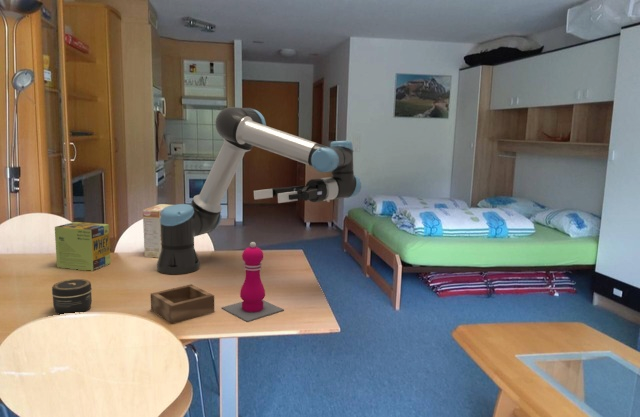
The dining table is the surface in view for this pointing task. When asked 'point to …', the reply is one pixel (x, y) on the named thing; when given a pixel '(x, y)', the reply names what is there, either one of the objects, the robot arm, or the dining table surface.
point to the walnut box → (182, 303)
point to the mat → (250, 316)
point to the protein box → (82, 245)
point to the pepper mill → (252, 280)
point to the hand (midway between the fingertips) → (265, 196)
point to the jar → (72, 296)
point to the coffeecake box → (152, 230)
